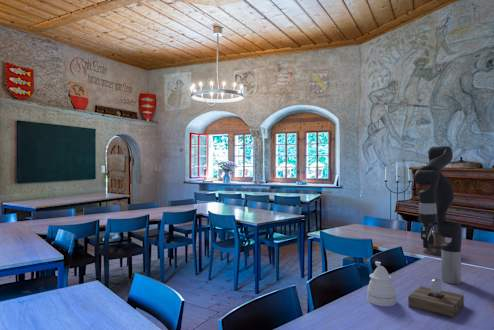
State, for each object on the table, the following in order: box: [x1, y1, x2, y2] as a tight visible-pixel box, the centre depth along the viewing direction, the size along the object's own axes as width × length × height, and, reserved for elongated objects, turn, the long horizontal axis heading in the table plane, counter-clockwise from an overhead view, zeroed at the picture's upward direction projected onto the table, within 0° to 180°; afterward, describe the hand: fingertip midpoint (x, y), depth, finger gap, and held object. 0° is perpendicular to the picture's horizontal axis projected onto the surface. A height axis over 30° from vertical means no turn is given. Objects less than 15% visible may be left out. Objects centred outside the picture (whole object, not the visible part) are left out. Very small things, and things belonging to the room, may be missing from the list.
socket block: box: [407, 285, 465, 320], centre depth 156 cm, size 18×18×5 cm
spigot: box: [430, 278, 442, 299], centre depth 157 cm, size 4×4×11 cm
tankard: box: [422, 224, 448, 257], centre depth 251 cm, size 24×17×20 cm
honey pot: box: [366, 261, 397, 307], centre depth 164 cm, size 13×13×18 cm
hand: (428, 246), depth 163 cm, fingers open, 8 cm apart
